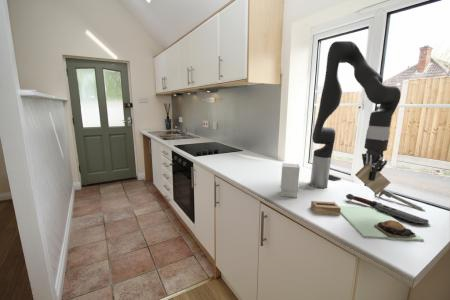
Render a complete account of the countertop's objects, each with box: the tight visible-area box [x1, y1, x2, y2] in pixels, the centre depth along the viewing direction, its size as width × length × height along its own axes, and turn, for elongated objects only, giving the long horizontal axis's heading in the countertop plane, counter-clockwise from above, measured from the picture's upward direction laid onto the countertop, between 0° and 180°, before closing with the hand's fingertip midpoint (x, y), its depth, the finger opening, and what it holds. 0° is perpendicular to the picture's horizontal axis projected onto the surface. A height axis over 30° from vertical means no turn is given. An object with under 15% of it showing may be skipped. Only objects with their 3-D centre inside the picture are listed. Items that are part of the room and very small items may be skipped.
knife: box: [345, 193, 430, 224], centre depth 98 cm, size 9×2×30 cm
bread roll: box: [374, 220, 416, 238], centre depth 80 cm, size 11×8×4 cm
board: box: [354, 163, 391, 196], centre depth 91 cm, size 2×7×12 cm
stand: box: [310, 200, 341, 216], centre depth 96 cm, size 6×10×3 cm, turn 87°
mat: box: [338, 205, 425, 242], centre depth 88 cm, size 24×20×1 cm
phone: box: [328, 173, 342, 182], centre depth 145 cm, size 8×1×15 cm
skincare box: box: [280, 162, 301, 199], centre depth 111 cm, size 8×7×16 cm
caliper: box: [374, 188, 426, 212], centre depth 107 cm, size 20×1×6 cm, turn 35°
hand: (369, 179), depth 91 cm, fingers closed on board, 1 cm apart
